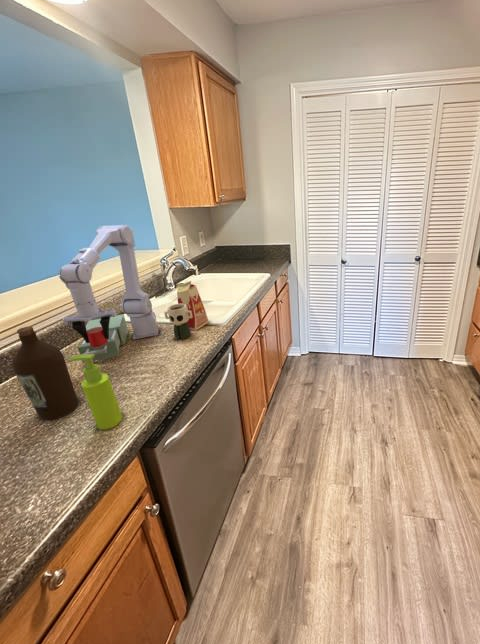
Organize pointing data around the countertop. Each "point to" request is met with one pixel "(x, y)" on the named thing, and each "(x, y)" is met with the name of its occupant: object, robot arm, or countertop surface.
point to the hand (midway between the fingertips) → (98, 339)
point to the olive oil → (44, 376)
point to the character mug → (179, 319)
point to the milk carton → (192, 305)
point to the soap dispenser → (99, 393)
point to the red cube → (96, 337)
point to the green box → (112, 326)
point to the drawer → (103, 347)
